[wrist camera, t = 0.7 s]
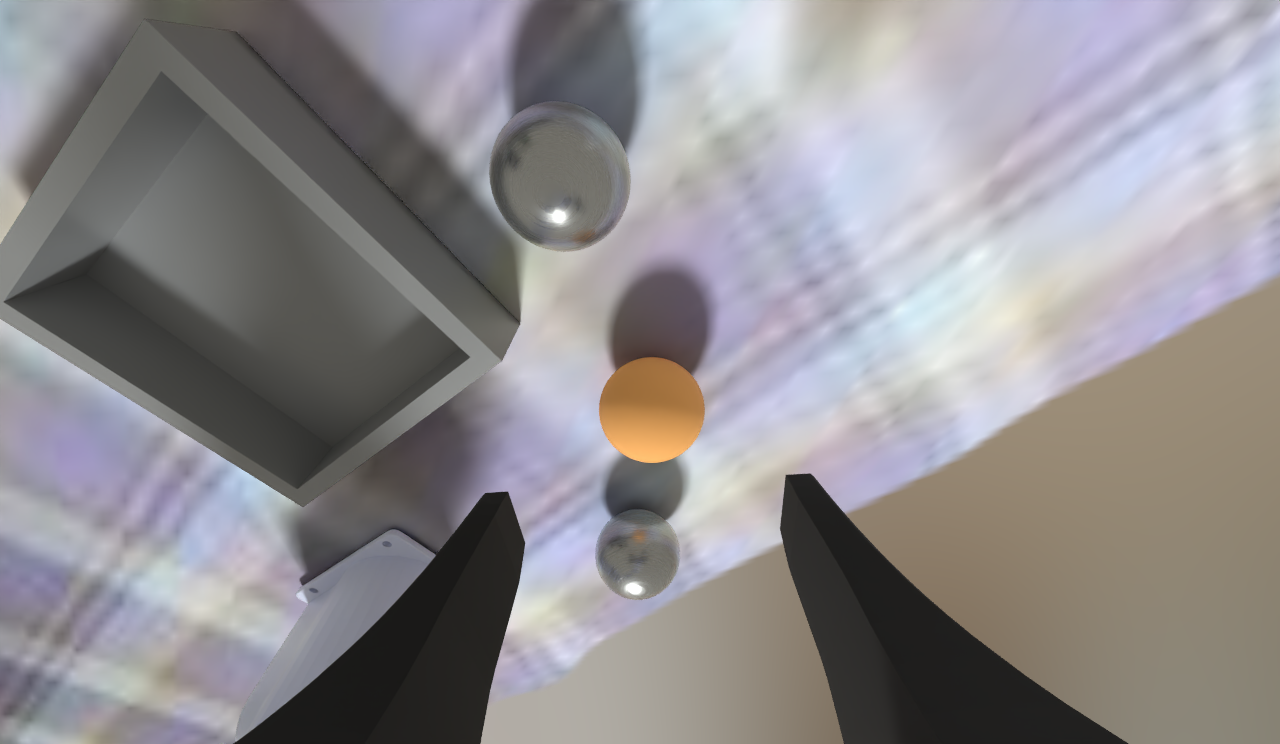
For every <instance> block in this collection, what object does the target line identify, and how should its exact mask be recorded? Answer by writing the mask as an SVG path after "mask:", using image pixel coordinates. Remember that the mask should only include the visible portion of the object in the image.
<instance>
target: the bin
mask: <svg viewBox="0 0 1280 744" xmlns="http://www.w3.org/2000/svg"><path fill="white" fill-rule="evenodd" d="M0 319H1V320H3V321H5V322H6V323H8V324H9V325H11V326H13V327H14V328H16V329H17V330H19V331H21V332H22V333H24V334H25V335H27V336H29V337H30V338H32V339H34V340H35V341H37V342H38V343H40V344H42V345H43V346H45V347H46V348H48V349H50V350H51V351H53V352H54V353H56V354H58V355H59V356H61V357H62V358H64V359H66V360H67V361H69V362H70V363H72V364H74V365H75V366H77V367H78V368H80V369H82V370H83V371H85V372H87V373H88V374H90V375H91V376H93V377H95V378H96V379H98V380H99V381H101V382H103V383H104V384H106V385H107V386H109V387H111V388H112V389H114V390H115V391H117V392H119V393H120V394H122V395H123V396H125V397H127V398H128V399H130V400H132V401H133V402H135V403H136V404H138V405H140V406H141V407H143V408H144V409H146V410H148V411H149V412H151V413H152V414H154V415H156V416H157V417H159V418H160V419H162V420H164V421H165V422H167V423H168V424H170V425H172V426H173V427H175V428H176V429H178V430H180V431H181V432H183V433H185V434H186V435H188V436H189V437H191V438H193V439H194V440H196V441H197V442H199V443H201V444H202V445H204V446H205V447H207V448H209V449H210V450H212V451H213V452H215V453H217V454H218V455H220V456H221V457H223V458H225V459H226V460H228V461H229V462H231V463H233V464H234V465H236V466H238V467H239V468H241V469H242V470H244V471H246V472H247V473H249V474H250V475H252V476H254V477H255V478H257V479H258V480H260V481H262V482H263V483H265V484H266V485H268V486H270V487H271V488H273V489H274V490H276V491H278V492H279V493H281V494H282V495H284V496H286V497H287V498H289V499H291V500H292V501H294V502H295V503H297V504H299V505H300V506H302V507H304V506H306V505H307V504H308V503H310V502H311V501H312V500H314V499H315V498H316V497H318V496H319V495H321V494H322V493H323V492H325V491H326V490H327V489H329V488H330V487H331V486H333V485H334V484H336V483H337V482H338V481H340V480H341V479H342V478H344V477H345V476H346V475H348V474H349V473H350V472H352V471H353V470H355V469H356V468H357V467H359V466H360V465H361V464H363V463H364V462H365V461H367V460H368V459H369V458H371V457H372V456H374V455H375V454H376V453H378V452H379V451H380V450H382V449H383V448H384V447H386V446H387V445H389V444H390V443H391V442H393V441H394V440H395V439H397V438H398V437H399V436H401V435H402V434H403V433H405V432H406V431H408V430H409V429H410V428H412V427H413V426H414V425H416V424H417V423H418V422H420V421H421V420H423V419H424V418H425V417H427V416H428V415H429V414H431V413H432V412H433V411H435V410H436V409H437V408H439V407H440V406H442V405H443V404H444V403H446V402H447V401H448V400H450V399H451V398H452V397H454V396H455V395H456V394H458V393H459V392H461V391H462V390H463V389H465V388H466V387H467V386H469V385H470V384H471V383H473V382H474V381H476V380H477V379H478V378H480V377H481V376H482V375H484V374H485V373H486V372H488V371H489V370H490V369H492V368H493V367H495V366H496V365H497V364H499V363H500V362H501V361H502V360H503V358H504V356H505V354H506V352H507V350H508V348H509V346H510V344H511V342H512V340H513V338H514V336H515V333H516V331H517V329H518V327H519V325H520V323H519V322H518V321H517V320H516V319H515V318H514V317H513V316H512V315H511V314H510V313H509V312H508V311H507V309H506V308H505V307H504V306H503V305H502V304H501V303H500V302H499V301H498V300H497V299H496V298H495V297H494V296H493V295H492V294H491V293H490V292H489V291H488V290H487V289H486V288H485V287H484V286H483V285H482V284H481V283H480V282H479V281H478V280H477V279H476V278H475V277H474V276H473V275H472V274H471V272H470V271H469V270H468V269H467V268H466V267H465V266H464V265H463V264H462V263H461V262H460V261H459V260H458V259H457V258H456V257H455V256H454V255H453V254H452V253H451V252H450V251H449V250H448V249H447V248H446V247H445V246H444V245H443V244H442V243H441V242H440V241H439V240H438V239H437V238H436V237H435V236H434V234H433V233H432V232H431V231H430V230H429V229H428V228H427V227H426V226H425V225H424V224H423V223H422V222H421V221H420V220H419V219H418V218H417V217H416V216H415V215H414V214H413V213H412V212H411V211H410V210H409V209H408V208H407V207H406V206H405V205H404V204H403V203H402V202H401V201H400V200H399V199H398V198H397V196H396V195H395V194H394V193H393V192H392V191H391V190H390V189H389V188H388V187H387V186H386V185H385V184H384V183H383V182H382V181H381V180H380V179H379V178H378V177H377V176H376V175H375V174H374V173H373V172H372V171H371V170H370V169H369V168H368V167H367V166H366V165H365V164H364V163H363V162H362V161H361V159H360V158H359V157H358V156H357V155H356V154H355V153H354V152H353V151H352V150H351V149H350V148H349V147H348V146H347V145H346V144H345V143H344V142H343V141H342V140H341V139H340V138H339V137H338V136H337V135H336V134H335V133H334V132H333V131H332V130H331V129H330V128H329V127H328V126H327V125H326V124H325V123H324V121H323V120H322V119H321V118H320V117H319V116H318V115H317V114H316V113H315V112H314V111H313V110H312V109H311V108H310V107H309V106H308V105H307V104H306V103H305V102H304V101H303V100H302V99H301V98H300V97H299V96H298V95H297V94H296V93H295V92H294V91H293V90H292V89H291V88H290V87H289V86H288V84H287V83H286V82H285V81H284V80H283V79H282V78H281V77H280V76H279V75H278V74H277V73H276V72H275V71H274V70H273V69H272V68H271V67H270V66H269V65H268V64H267V63H266V62H265V61H264V60H263V59H262V58H261V57H260V56H259V55H258V54H257V53H256V52H255V51H254V50H253V49H252V48H251V46H250V45H249V44H248V43H247V42H246V41H245V40H244V39H243V38H242V37H241V36H240V35H239V34H238V33H237V32H234V31H227V30H220V29H213V28H206V27H199V26H192V25H185V24H178V23H171V22H164V21H157V20H150V19H144V20H143V21H142V23H141V25H140V26H139V28H138V29H137V31H136V32H135V34H134V36H133V37H132V39H131V40H130V42H129V43H128V45H127V46H126V48H125V50H124V51H123V53H122V54H121V56H120V57H119V59H118V61H117V62H116V64H115V65H114V67H113V68H112V70H111V72H110V73H109V75H108V76H107V78H106V79H105V81H104V83H103V84H102V86H101V87H100V89H99V90H98V92H97V94H96V95H95V97H94V98H93V100H92V101H91V103H90V105H89V106H88V108H87V109H86V111H85V112H84V114H83V116H82V117H81V119H80V120H79V122H78V123H77V125H76V126H75V128H74V130H73V131H72V133H71V134H70V136H69V137H68V139H67V141H66V142H65V144H64V145H63V147H62V148H61V150H60V152H59V153H58V155H57V156H56V158H55V159H54V161H53V163H52V164H51V166H50V167H49V169H48V170H47V172H46V174H45V175H44V177H43V178H42V180H41V181H40V183H39V185H38V186H37V188H36V189H35V191H34V192H33V194H32V196H31V197H30V199H29V200H28V202H27V203H26V205H25V206H24V208H23V210H22V211H21V213H20V214H19V216H18V217H17V219H16V221H15V222H14V224H13V225H12V227H11V228H10V230H9V232H8V233H7V235H6V236H5V238H4V239H3V241H2V243H1V244H0Z"/></svg>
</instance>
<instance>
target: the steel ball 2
mask: <svg viewBox="0 0 1280 744" xmlns="http://www.w3.org/2000/svg"><path fill="white" fill-rule="evenodd" d="M595 558H596V565H597V568H598V571H599V574H600V576H601V578H602V580H603V581H604V583H605V584H606V585H607V586H608V587H609V588H610V589H611V590H612V591H613V592H615V593H616V594H618V595H620V596H621V597H624V598H627V599H632V600H643V599H648V598H651V597H654V596H656V595H658V594H659V593H661V592H662V591H663V590H665V589H666V588H667V587H668V586H669V584H670V583H671V582H672V580H673V579H674V577H675V575H676V572H677V570H678V566H679V561H680V548H679V543H678V539H677V536H676V534H675V532H674V530H673V529H672V527H671V526H670V525H669V523H668V522H667V521H666V520H665V519H663V518H662V517H661V516H659V515H658V514H656V513H654V512H651V511H648V510H643V509H632V510H627V511H624V512H622V513H620V514H618V515H616V516H615V517H613V518H612V519H611V520H610V521H609V522H608V523H607V524H606V525H605V527H604V528H603V529H602V531H601V533H600V535H599V538H598V541H597V544H596V555H595Z"/></svg>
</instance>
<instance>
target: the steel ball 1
mask: <svg viewBox="0 0 1280 744" xmlns="http://www.w3.org/2000/svg"><path fill="white" fill-rule="evenodd" d="M489 175H490V185H491V189H492V194H493V197H494V200H495V202H496V204H497V207H498V209H499V211H500V212H501V214H502V216H503V217H504V219H505V220H506V221H507V223H508V224H509V225H510V226H511V227H512V228H513V229H514V230H515V232H516V233H518V234H519V235H520V236H521V237H523V238H524V239H526V240H527V241H529V242H530V243H532V244H535V245H537V246H539V247H542V248H545V249H548V250H553V251H563V252H566V251H576V250H581V249H584V248H587V247H590V246H592V245H594V244H596V243H597V242H599V241H600V240H602V239H603V238H605V237H606V236H607V235H608V234H609V233H610V232H611V231H612V230H613V229H614V228H615V226H616V225H617V224H618V222H619V221H620V219H621V217H622V215H623V213H624V211H625V209H626V205H627V202H628V199H629V194H630V183H631V179H630V169H629V163H628V159H627V156H626V153H625V151H624V148H623V146H622V144H621V142H620V140H619V139H618V137H617V135H616V134H615V132H614V131H613V130H612V129H611V127H610V126H609V125H608V124H607V123H606V122H605V121H604V120H603V119H602V118H600V117H599V116H598V115H596V114H595V113H593V112H592V111H590V110H588V109H586V108H584V107H582V106H579V105H577V104H573V103H569V102H564V101H546V102H542V103H537V104H534V105H532V106H529V107H527V108H526V109H524V110H522V111H520V112H519V113H517V114H516V115H515V116H514V117H512V118H511V119H510V120H509V121H508V123H507V124H506V125H505V126H504V127H503V129H502V130H501V132H500V133H499V135H498V137H497V139H496V141H495V144H494V147H493V150H492V153H491V159H490V169H489Z"/></svg>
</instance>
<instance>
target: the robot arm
mask: <svg viewBox="0 0 1280 744" xmlns="http://www.w3.org/2000/svg"><path fill="white" fill-rule="evenodd" d="M780 531H781V535H782V539H783V544H784V548H785V553H786V557H787V561H788V565H789V568H790V572H791V575H792V578H793V580H794V583H795V586H796V589H797V592H798V595H799V598H800V600H801V603H802V606H803V609H804V612H805V615H806V617H807V620H808V623H809V626H810V629H811V631H812V634H813V637H814V640H815V643H816V646H817V648H818V651H819V654H820V656H821V660H822V663H823V666H824V669H825V673H826V676H827V679H828V683H829V686H830V690H831V694H832V698H833V702H834V706H835V710H836V713H837V717H838V721H839V725H840V729H841V733H842V737H843V741H844V744H1128V743H1127V742H1125V741H1123V740H1122V739H1120V738H1119V737H1117V736H1116V735H1114V734H1112V733H1111V732H1109V731H1108V730H1106V729H1105V728H1103V727H1101V726H1100V725H1098V724H1097V723H1095V722H1094V721H1092V720H1090V719H1089V718H1087V717H1086V716H1084V715H1083V714H1081V713H1080V712H1078V711H1076V710H1075V709H1073V708H1072V707H1070V706H1069V705H1067V704H1066V703H1064V702H1063V701H1061V700H1060V699H1058V698H1057V697H1055V696H1054V695H1053V694H1051V693H1050V692H1048V691H1047V690H1045V689H1044V688H1042V687H1041V686H1040V685H1038V684H1037V683H1035V682H1034V681H1032V680H1031V679H1029V678H1028V677H1027V676H1025V675H1024V674H1023V673H1021V672H1020V671H1019V670H1017V669H1016V668H1015V667H1013V666H1012V665H1011V664H1009V663H1008V662H1007V661H1005V660H1004V659H1003V658H1001V657H1000V656H999V655H997V654H996V653H994V651H992V650H991V649H990V648H988V647H987V646H986V645H984V644H983V643H982V642H980V641H979V640H978V639H976V638H975V637H973V636H972V635H971V634H970V633H969V632H968V631H966V630H965V629H964V628H963V627H961V626H960V625H959V624H958V623H957V622H955V621H954V620H953V619H952V618H951V617H949V616H948V615H947V614H946V613H945V612H943V611H942V610H941V609H940V608H939V607H938V606H936V605H935V604H934V603H933V602H932V601H931V600H930V599H928V598H927V597H926V596H925V595H924V594H923V593H922V592H921V591H920V590H919V589H917V588H916V587H915V586H914V585H913V584H912V583H911V582H910V581H909V580H908V579H907V578H906V577H905V576H903V575H902V573H900V571H898V570H897V569H896V568H895V567H894V566H893V565H892V564H891V563H890V562H889V561H888V560H887V559H886V558H885V557H884V556H883V555H882V554H881V553H880V552H879V551H878V549H876V547H875V546H874V545H873V544H872V543H871V542H870V541H869V540H868V539H867V538H866V537H865V536H864V535H863V533H861V531H860V530H859V529H858V528H857V527H856V526H855V525H854V524H853V523H852V521H851V520H850V519H849V518H848V517H847V516H846V515H845V513H844V512H843V511H842V510H841V509H840V508H839V506H838V505H837V504H836V503H835V502H834V501H833V499H832V498H831V497H830V496H829V495H828V493H827V492H826V491H825V490H824V489H823V487H822V486H821V485H820V484H819V482H818V481H817V480H816V479H815V477H814V476H813V475H811V474H794V475H786V479H785V488H784V497H783V507H782V516H781V526H780ZM524 547H525V541H524V538H523V535H522V532H521V529H520V526H519V523H518V520H517V517H516V514H515V511H514V508H513V505H512V502H511V499H510V496H509V493H508V492H495V493H485V494H484V495H483V496H482V498H481V499H480V500H479V501H478V503H477V504H476V505H475V506H474V508H473V509H472V510H471V512H470V513H469V514H468V516H467V517H466V518H465V519H464V521H463V522H462V523H461V525H460V526H459V527H458V529H457V530H456V531H455V532H454V534H453V535H452V536H451V537H450V539H449V540H448V541H447V542H446V544H445V545H444V546H443V547H442V549H441V550H440V551H439V552H438V553H437V555H435V554H434V553H432V552H431V551H429V550H428V549H426V548H425V547H423V546H422V545H420V544H419V543H417V542H416V541H414V540H413V539H411V538H410V537H408V536H407V535H405V534H404V533H402V532H401V531H399V530H389V531H387V532H385V533H384V534H382V535H381V536H379V537H378V538H376V539H375V540H373V541H371V542H370V543H368V544H367V545H365V546H364V547H362V548H361V549H359V550H358V551H356V552H354V553H353V554H351V555H350V556H348V557H347V558H345V559H344V560H342V561H341V562H339V563H337V564H336V565H334V566H333V567H331V568H330V569H328V570H327V571H325V572H324V573H322V574H320V575H319V576H317V577H316V578H314V579H313V580H311V581H310V582H308V583H307V584H305V585H303V586H302V587H300V589H299V590H298V591H297V593H296V596H297V598H299V599H300V600H302V601H304V602H306V603H308V605H307V607H306V608H305V610H304V611H303V613H302V615H301V616H300V618H299V619H298V621H297V622H296V624H295V626H294V627H293V629H292V630H291V632H290V633H289V635H288V637H287V638H286V640H285V641H284V643H283V644H282V646H281V648H280V649H279V651H278V652H277V654H276V655H275V657H274V659H273V660H272V662H271V663H270V665H269V666H268V668H267V670H266V671H265V673H264V674H263V676H262V677H261V679H260V681H259V682H258V684H257V685H256V687H255V688H254V690H253V692H252V693H251V695H250V696H249V698H248V700H247V702H246V704H245V705H244V707H243V709H242V712H241V714H240V717H239V721H238V724H237V729H236V741H235V743H234V744H480V743H481V737H482V731H483V726H484V720H485V715H486V710H487V704H488V699H489V693H490V689H491V684H492V680H493V676H494V672H495V668H496V665H497V661H498V657H499V654H500V650H501V647H502V643H503V639H504V636H505V632H506V629H507V625H508V621H509V618H510V614H511V611H512V607H513V603H514V599H515V596H516V592H517V588H518V584H519V580H520V574H521V568H522V561H523V554H524ZM221 744H226V743H221Z"/></svg>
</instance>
